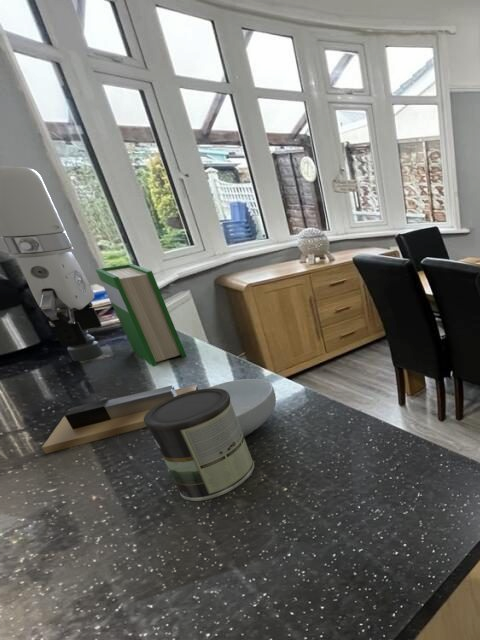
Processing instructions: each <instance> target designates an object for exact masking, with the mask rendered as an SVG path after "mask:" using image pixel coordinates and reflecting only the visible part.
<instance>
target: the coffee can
mask: <svg viewBox="0 0 480 640" xmlns="http://www.w3.org/2000/svg"><path fill="white" fill-rule="evenodd" d="M207 388H208V389H206V388H201V389H198V390H195V391H190V392H187V393H183V394H180V395H177V396H175V397H172V398H170V399H168V400H165V401H164V402H162V403H160V404H158V405H156V406H155V407H153V408H152V409H151V410H150V411H149V412H147V414H146V415H145V417H144V423H145V424H146V426H147V427H146V428H148V430H149V432H150V434H151V437H152V439H153V440H154V442H155V444H156V447H157V449H158V450H159V453H160V454H161V457H162V458H163V460H164V463H165V465H166V467H167V468H168V471H169V472H170V475H171V476H172V479H173V481H174V483H175V485H176V487H177V489H178V491H179V494H180V496H181V497H182V498H183V499H184V500H186V501H190V502H203V501H208V500H212V499H214V498H218V497H221V496H223V495H225V494H227V493H230V492H231V491H233V490H235V489H236V488H238V487H240V486H241V485H242V484H243V483H244V482H245V481H246V480H247V479H249V477H250V476H251V475H252V473H253V471H254V469H255V462H254V460H253V458H252V455H251V453H250V450H249V447H248V445H247V442H246V439H245V437H244V436H243V433H242V431H241V428H240V425H239V423H238V420H237V417H236V415H235V412H234V409H233V407H232V404H231V401H230V395H229V393H228V392H227V391H226V390H223V389H218V388H209V387H207Z"/></svg>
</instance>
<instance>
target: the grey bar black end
mask: <svg viewBox="0 0 480 640" xmlns="http://www.w3.org/2000/svg"><path fill="white" fill-rule="evenodd" d="M175 390H176V389H175V387H174V385H173V384H171V385H167V386H163V387H159V388H154V389H151V390H150V389H149V390H146V391H142V392H138V393H133V394H129V395H125V396H121V397H117V398H112V399H104V400H99V401H96V402H91V403H86V404H82V405H79V406H74V407H70V408H69V409H68V411H67V412H66V413H65V415H64V416H65V417H66V419H67V420H68V422H69V424H70V426H71V427H72V429H76V428H80V427H84V426H88V425H92V424H96V423H100V422H104V421H108V420H111V419H115V418H119V417H123V416H127V415H131V414H135V413H139V412H143V411H147V410H151V409H152V408H153V407H155V406H156V405H158V404H160V403H162V402H164V401H165V400H168V399H170V398H172V397H175V396H177V393H176V391H175Z"/></svg>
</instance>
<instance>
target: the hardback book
mask: <svg viewBox="0 0 480 640" xmlns="http://www.w3.org/2000/svg"><path fill="white" fill-rule="evenodd" d="M95 271H96V273H97V275H98V278H99V281H100V282H101V284H102V286H103V288H104V290H105V291H104V292H105V293H106V295H107V297H108V299H109V301H110V304H111V306H112V308H113V310H114V312H115V315H116V317H117V319H118V321H119V323H120V326H121V327H122V329H123V331H124V334H125V335H126V338H127V340H128V342H129V344H130V347H131V348H132V351H133V352H134V353H135V354H136V355H137V356H139V357H140V358H141V359H143V360H144V361H145V362H147V363H148V364H149V365H151V366H152V367H156V366H158V362H162V361H164V360H168V359H171V358H175V357H178V356H180V357H181V358H185V357H187V354H186V352H185V349H184V347H183V344H182V342H181V339H180V337H179V334H178V331H177V329H176V327H175V324H174V322H173V319H172V317H171V315H170V312H169V309H168V307H167V305H166V303H165V300H164V297H163V294H162V292H161V290H160V288H159V285H158V283H157V280H156V278H155V275H154V273H153V271H152V270H151V269H148V268H144V267H142V266H140V265H136V264H134V263H128V264H127V263H126V264H122V265H121V264H120V265H115V266H114V265H113V266H109V267H107V266H106V267H102V268H95Z"/></svg>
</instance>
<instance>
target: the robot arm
mask: <svg viewBox="0 0 480 640" xmlns="http://www.w3.org/2000/svg"><path fill="white" fill-rule="evenodd" d="M0 240H1V242H2V243H3V246H4V248H5V249H6V252H7V253H8V255H9V257H10V258H17V261H18V263H19V266H20V268H21V271H22V273H23V276H24V278H25V281H26V283H27V285H28V287H29V289H30V291H31V294H32V296H33V298H34V299H35V302H36V303H37V305H38V306H39V308H40V310H41V311H42V313H43V314H44V315H45V319H46V320H47V321H48V323H49V326H50V327H51V328H52V330H53V332H54V334H55V336H56V338H57V340H58V343H59V344H60V345H61V347H63V348H68V347H69V346H75V345H81V344H86V343H87V339H86V337H85V335H84V333H83V331H82V330H86V329H87V330H92V329H98V328H101V327H102V326H103V325H102V322H101V320H100V318H99V316H98V313H97V311H96V309H95V307H94V304H93V302H92V301H93V300H94V299H95V298H96V297H95V292H94V290H93V288H92V286H91V284H90V282H89V280H88V279H87V276H86V275H85V273H84V271H83V269H82V267H81V265H80V264H79V262H78V260H77V259H76V257H75V255H74V254H73V251H75V248H74V247H73V244H72V242H71V240H70V238H69V235H68V233H67V231H66V229H65V226H64V224H63V222H62V220H61V217H60V215H59V213H58V211H57V209H56V207H55V204H54V201H53V199H52V198H51V196H50V194H49V191H48V189H47V187H46V183H45V182H44V180H43V178H42V176H41V174H39V172H38V171H37V170H35V169H33V168H32V167H27V166H18V165H17V166H15V165H14V166H13V165H0ZM63 313H66V315H67V317H66V316H65V315H64V314H63Z"/></svg>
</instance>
